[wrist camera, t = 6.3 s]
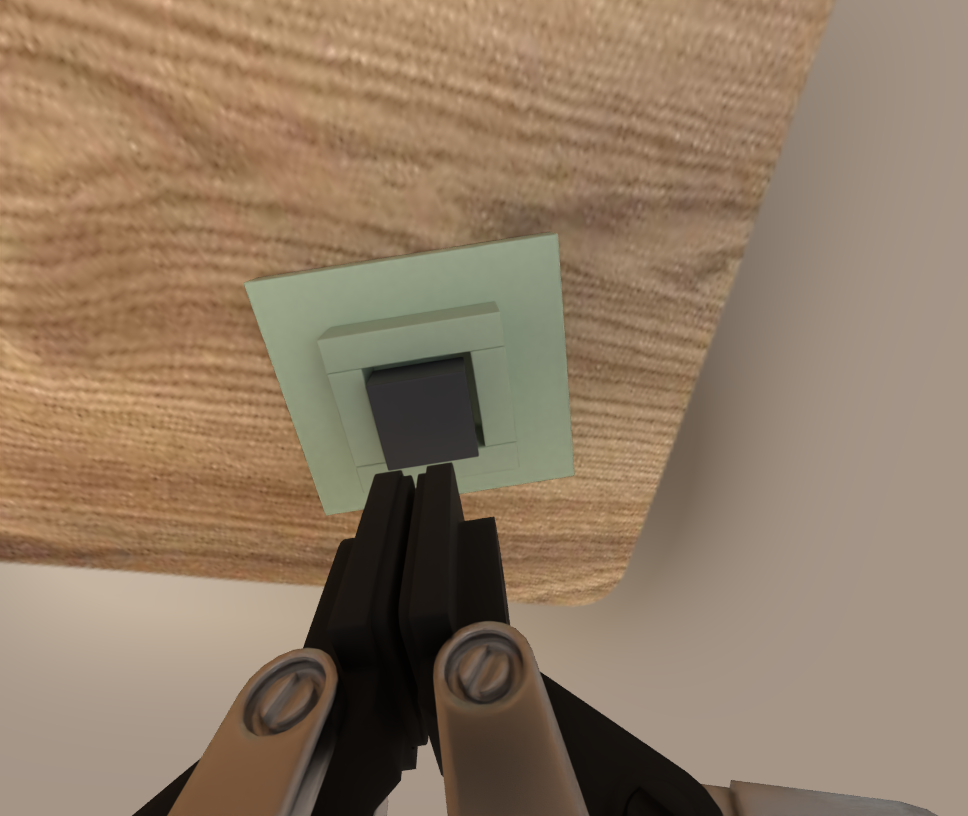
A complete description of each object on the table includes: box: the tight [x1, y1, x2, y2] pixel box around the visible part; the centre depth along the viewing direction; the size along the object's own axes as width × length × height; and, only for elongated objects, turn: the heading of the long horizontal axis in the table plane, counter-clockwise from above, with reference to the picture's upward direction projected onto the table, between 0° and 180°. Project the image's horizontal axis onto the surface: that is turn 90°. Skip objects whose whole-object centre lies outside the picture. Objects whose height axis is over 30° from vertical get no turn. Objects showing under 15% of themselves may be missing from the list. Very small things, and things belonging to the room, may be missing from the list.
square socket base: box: [244, 232, 575, 515], centre depth 17 cm, size 11×10×3 cm
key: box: [366, 357, 479, 471], centre depth 16 cm, size 3×3×2 cm
